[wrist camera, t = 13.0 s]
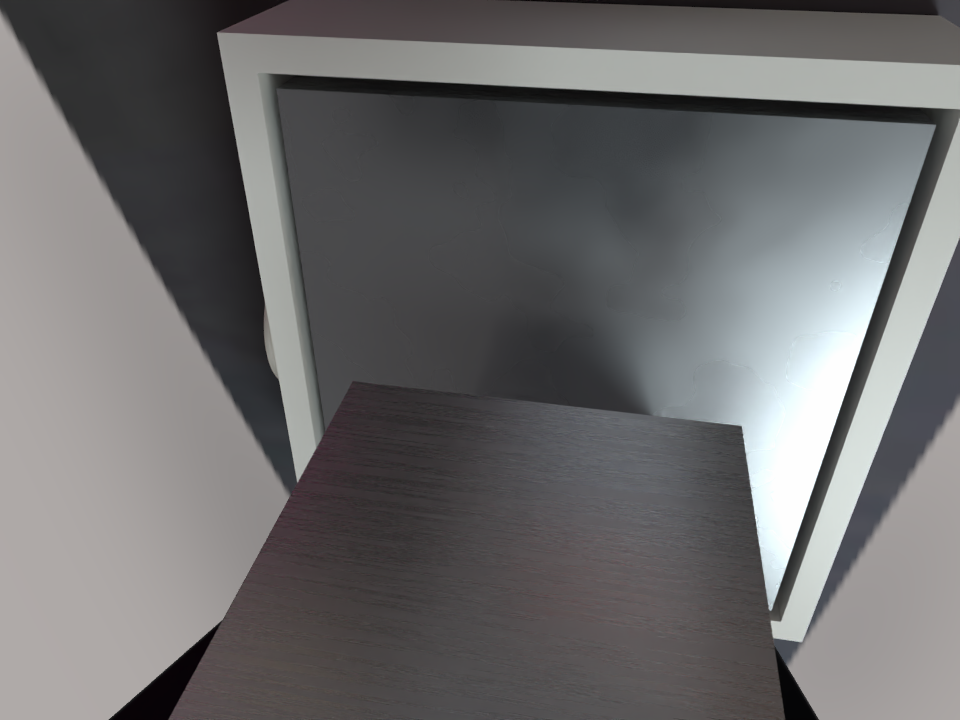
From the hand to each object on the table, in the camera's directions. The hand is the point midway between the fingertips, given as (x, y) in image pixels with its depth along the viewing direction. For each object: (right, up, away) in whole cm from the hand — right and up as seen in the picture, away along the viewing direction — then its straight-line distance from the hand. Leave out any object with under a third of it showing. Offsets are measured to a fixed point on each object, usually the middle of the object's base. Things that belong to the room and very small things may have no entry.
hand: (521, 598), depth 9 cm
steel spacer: (0, +1, +1) cm, 1 cm away
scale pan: (+2, +3, +9) cm, 10 cm away
